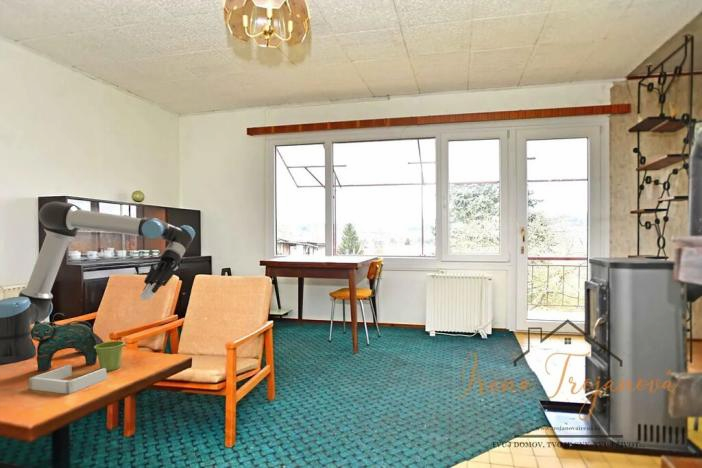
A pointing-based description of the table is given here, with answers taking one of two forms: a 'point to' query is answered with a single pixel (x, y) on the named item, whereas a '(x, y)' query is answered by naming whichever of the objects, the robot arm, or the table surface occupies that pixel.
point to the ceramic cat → (63, 341)
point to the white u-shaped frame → (54, 384)
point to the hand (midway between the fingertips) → (144, 298)
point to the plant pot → (109, 354)
